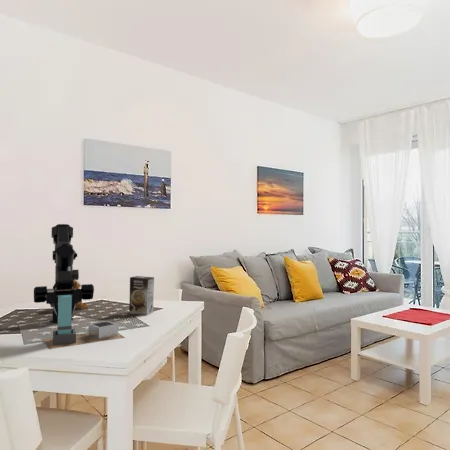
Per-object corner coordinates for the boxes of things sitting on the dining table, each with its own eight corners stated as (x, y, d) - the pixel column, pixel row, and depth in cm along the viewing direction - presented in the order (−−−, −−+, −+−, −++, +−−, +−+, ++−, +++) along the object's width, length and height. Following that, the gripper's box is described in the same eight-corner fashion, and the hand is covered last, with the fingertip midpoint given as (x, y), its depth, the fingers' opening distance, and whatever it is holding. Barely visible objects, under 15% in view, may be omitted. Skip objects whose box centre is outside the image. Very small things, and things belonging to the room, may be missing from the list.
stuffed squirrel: (89, 307, 187) (90, 279, 187) (68, 313, 173) (69, 283, 173) (72, 305, 190) (73, 278, 190) (50, 311, 177) (51, 282, 177)
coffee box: (128, 313, 174) (129, 277, 174) (136, 310, 180) (136, 275, 180) (147, 315, 171) (147, 278, 171) (153, 312, 177) (154, 276, 178)
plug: (57, 331, 130) (57, 295, 130) (70, 330, 132) (71, 294, 132) (57, 334, 126) (58, 297, 126) (71, 333, 128) (72, 296, 128)
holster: (52, 339, 131) (53, 330, 131) (74, 337, 134) (74, 328, 134) (53, 345, 125) (53, 335, 125) (75, 343, 128) (76, 333, 128)
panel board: (49, 351, 121) (49, 349, 121) (42, 341, 131) (42, 339, 131) (124, 339, 135) (124, 337, 135) (113, 331, 145) (113, 329, 145)
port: (88, 335, 136) (88, 324, 136) (107, 331, 142) (107, 320, 142) (98, 339, 131) (98, 327, 131) (117, 335, 137) (118, 324, 137)
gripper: (34, 262, 129) (32, 302, 119) (93, 260, 137) (96, 298, 127) (34, 282, 136) (33, 322, 126) (91, 280, 144) (94, 317, 134)
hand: (64, 314), depth 128 cm, fingers closed on plug, 4 cm apart
